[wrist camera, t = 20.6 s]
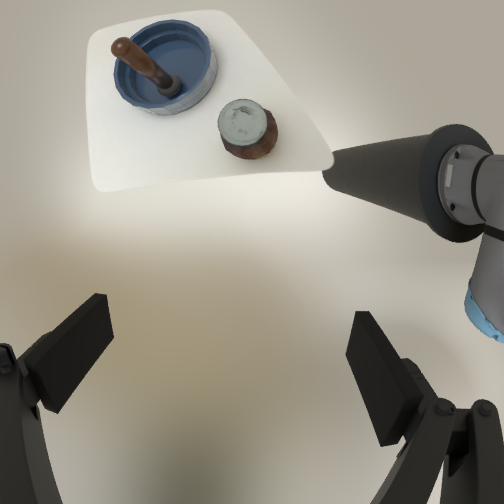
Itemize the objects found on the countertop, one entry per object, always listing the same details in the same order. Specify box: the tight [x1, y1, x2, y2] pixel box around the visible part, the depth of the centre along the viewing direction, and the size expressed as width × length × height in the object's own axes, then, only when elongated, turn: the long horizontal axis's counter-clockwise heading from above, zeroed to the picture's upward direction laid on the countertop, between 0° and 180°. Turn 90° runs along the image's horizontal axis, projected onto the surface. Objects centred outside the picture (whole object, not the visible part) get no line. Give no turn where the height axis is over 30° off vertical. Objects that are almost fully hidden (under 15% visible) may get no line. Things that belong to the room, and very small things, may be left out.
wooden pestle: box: [111, 37, 181, 97], centre depth 28 cm, size 4×4×19 cm
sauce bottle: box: [218, 99, 278, 160], centre depth 31 cm, size 7×6×20 cm
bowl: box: [114, 20, 217, 115], centre depth 35 cm, size 14×14×6 cm
